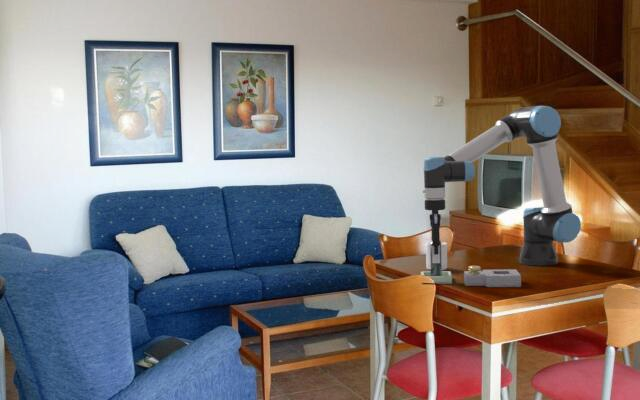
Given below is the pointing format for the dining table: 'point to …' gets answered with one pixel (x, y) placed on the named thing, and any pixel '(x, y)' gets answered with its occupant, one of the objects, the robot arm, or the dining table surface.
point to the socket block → (493, 278)
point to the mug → (443, 256)
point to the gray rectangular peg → (435, 264)
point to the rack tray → (440, 277)
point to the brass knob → (474, 269)
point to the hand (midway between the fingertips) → (435, 261)
